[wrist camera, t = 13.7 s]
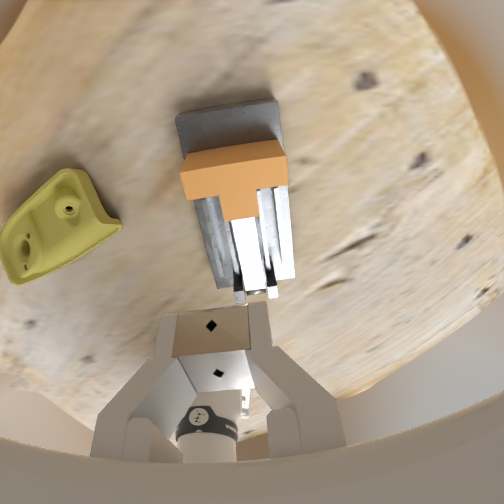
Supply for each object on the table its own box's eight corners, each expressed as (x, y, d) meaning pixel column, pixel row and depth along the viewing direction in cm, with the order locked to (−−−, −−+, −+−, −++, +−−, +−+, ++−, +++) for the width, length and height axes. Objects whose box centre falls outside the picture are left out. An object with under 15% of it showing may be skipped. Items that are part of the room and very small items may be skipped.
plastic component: (71, 160, 34) (102, 232, 35) (100, 163, 41) (129, 225, 42) (-9, 235, 37) (16, 294, 38) (21, 229, 44) (44, 282, 45)
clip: (283, 188, 37) (291, 211, 32) (198, 201, 38) (193, 226, 33) (277, 139, 34) (286, 155, 29) (187, 153, 34) (179, 172, 29)
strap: (265, 287, 42) (266, 294, 41) (247, 290, 42) (247, 297, 41) (251, 197, 34) (252, 203, 33) (228, 201, 34) (228, 207, 33)
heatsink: (291, 264, 48) (300, 299, 42) (217, 275, 48) (216, 311, 42) (274, 97, 34) (284, 108, 28) (179, 113, 34) (167, 128, 28)
